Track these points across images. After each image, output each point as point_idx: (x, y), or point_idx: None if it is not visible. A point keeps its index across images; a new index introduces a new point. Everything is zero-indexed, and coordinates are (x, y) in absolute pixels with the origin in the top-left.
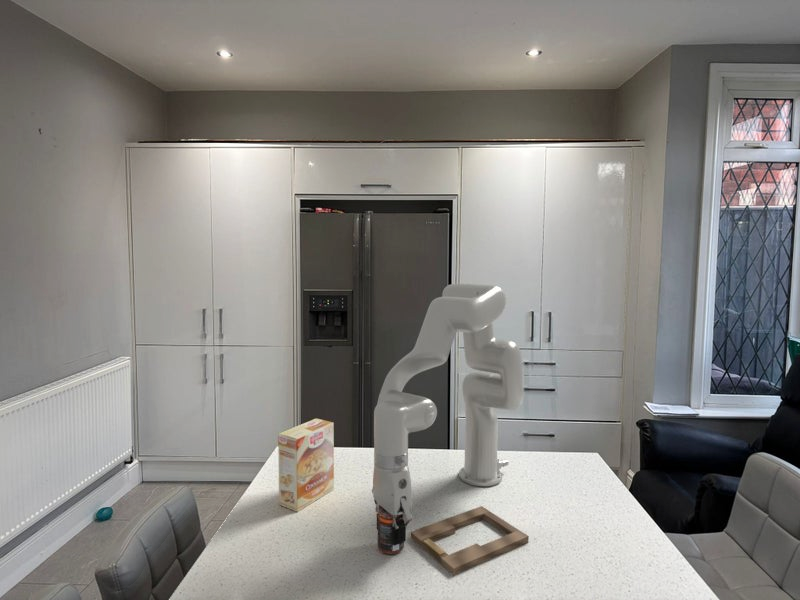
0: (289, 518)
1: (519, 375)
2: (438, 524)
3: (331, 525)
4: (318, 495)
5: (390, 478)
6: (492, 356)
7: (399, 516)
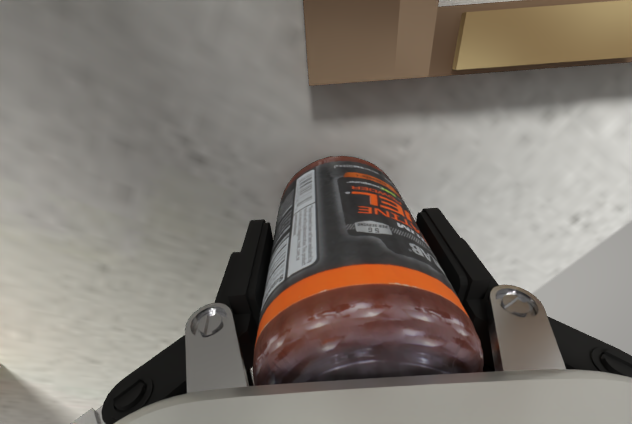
0: (45, 382)
1: None
2: None
3: (105, 316)
4: None
5: None
6: None
7: (483, 365)
